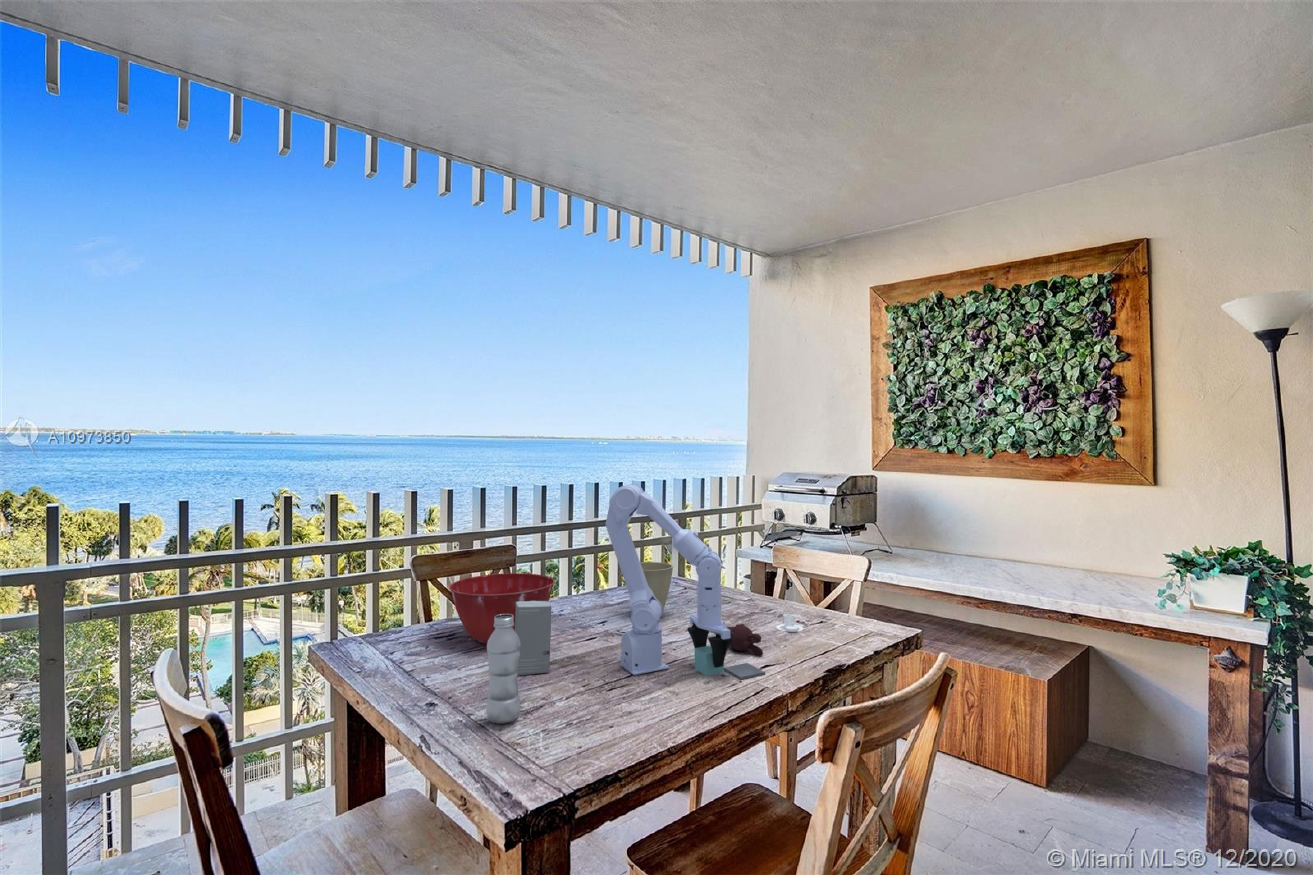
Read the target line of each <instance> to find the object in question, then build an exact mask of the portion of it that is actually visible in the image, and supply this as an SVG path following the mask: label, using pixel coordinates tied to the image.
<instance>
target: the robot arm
mask: <svg viewBox="0 0 1313 875" xmlns="http://www.w3.org/2000/svg"><path fill="white" fill-rule="evenodd" d="M608 505H609V506H608V509H607V510H608V511H607V515H606V521H605V528H606V531H607V534H608V537H609V540H610V542H611V545H612V548H613V550H614V551H613V552H614V555H615V557H616V560H617V563H618V566H619V569H620V571H621V575H622V578H623V580H624V583H625V586H626V589H627V592H628V594H629V596H628V597H629V607H630V610H631V617H630V621H631V622H630V623H631V625H632V627H631V630H630V631H627V632H625V633H623V634H622V636H621V641H620V642H621V643H620V644H621V645H620V646H621V647H620V648H621V652H620V654H621V656H620V660H621V662H620V663H619V665H620V666H621V667H622V668H624V669H625V670H626V671H627V672H629V673H630V674H631V675H633V676H637V675H641V674H646V673H652V672H658V671H662V670H669V669H670V668H669V667H670V666H669V665H668V664H666V663H664V662H663V650H662V649H663V627H662V625H661V624H660V622H659V620H660V619H661V617H662V616H663V612H662V606H661V604H660V602H659V601H658V600H657V599H656V598H655V596H654V594H653V591H652V590H651V589H650V587H649V586H648V583H647V581H646V578H645V575H644V572H643V569H642V566H641V563H640V562H641V560H640V559H639V554H638V553H637V550H636V547H635V544H634V541H633V537H632V535H631V533H630V529H629V527H628V525H629V523H630V521H631V519H632V518H633V516H634V514H636V515H642V516H647V517H649V518H650V519H651V520H652V521H653V522H655V524H657V525H658V527H660V528H661V529H662V530H663V531H664V532H666V534H667V535H668V536H669V537H671V538H672V546H673V548H674V549H676V551H677V552H678V553H679V554H680V555H681V556H682V557H683V558H684V559H685V560H686V561H687V562H688V563H689V564H690V565H692V566H694V567H695V571H696V574H697V579H698V580H697V584H696V586H697V587H696V588H697V589H696V591H697V594H696V595H697V598H696V600H697V601H696V602H697V604H696V606H697V607H696V608H697V610H696V611H697V612H696V613H697V614H695V615H689V624H690V625H691V626H689V627H688V626H687V632H688V634H689V636H690V638H691V641H692V644H693V647H694V649H695V648H699V647H704V646H708V645H707V643H708V642H709V646H710V645H711V648H712V654H713V664H714V667H715V668H717V667H722V666H723V664H724V665H725V661H726V660H725V658H726V655H727V651H728V649H729V648H730V646H729V645H730V643H731V642H732V640H733V637H731V636H730V630H729V629H728V628H726V627H727V626H726V621H725V620H723V619H722V584H721V581H722V577H721V572H722V566H723V565H722V560H721V558H720V556H719V555H718V553H717V552H716V551H713V548H712V547H711V546H707V545H706V544H705V543H704V542H703V541H702V540H701V539H700V538H699V537H698V536H699V533H698V532H697V531H695V530H694V531H692V529H687V528H685V529H684V528H682V527H681V526H680V525H679V524H678V523H677V522H676V520H674V519H673V517H672V516H671V514H669V513H668V512H667V511H666V510H665V509H664V508H663V507H662V505H661V504H660V503H659V502H658V501H657V500H656V499H655V498H654V497H653V496H652V495H651V494H650V493H648V492H647V491H644V490H643V488H642V487H641V486H640V485H638V484H637V483H636V484H635V483H629V484H626V485H622V486H620V487H618V488H617V489H616V490H615V491H614V493H613V494H612V495H611V497H610V498H609V504H608ZM709 633H712V634H714V635H713V636H709Z"/></svg>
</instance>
